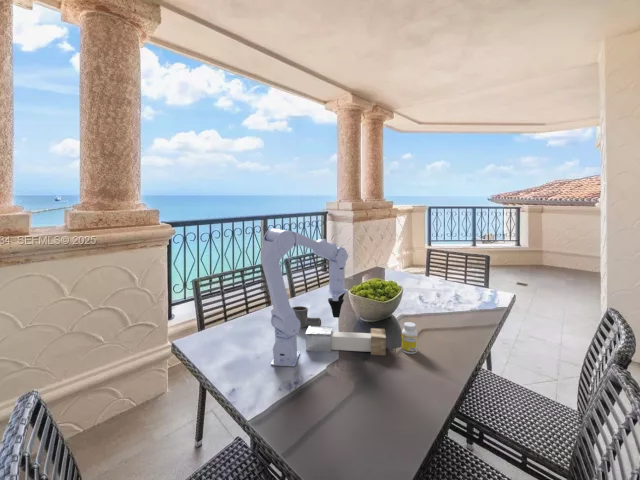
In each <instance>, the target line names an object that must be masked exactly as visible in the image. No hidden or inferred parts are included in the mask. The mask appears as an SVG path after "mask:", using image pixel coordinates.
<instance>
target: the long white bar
mask: <svg viewBox="0 0 640 480" xmlns="http://www.w3.org/2000/svg"><path fill="white" fill-rule="evenodd" d="M331 351H349V352H368V353H369V352H370V353H371V332H368V333H367V332H353V331H351V332H349V331H347V332H346V331H332V333H331Z"/></svg>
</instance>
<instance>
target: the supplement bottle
mask: <svg viewBox="0 0 640 480" xmlns="http://www.w3.org/2000/svg"><path fill="white" fill-rule="evenodd" d="M416 327H417V324H416V323H414V322H411V321H410V322H409V321H406V322H403V329H402V330H401V351H402V352H404V353H405V354H409V355H414V354H417V353H418V346H419V345H418V344H419V343H418V338H419V337H418V336H419V334H418V330H417V328H416Z"/></svg>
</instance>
